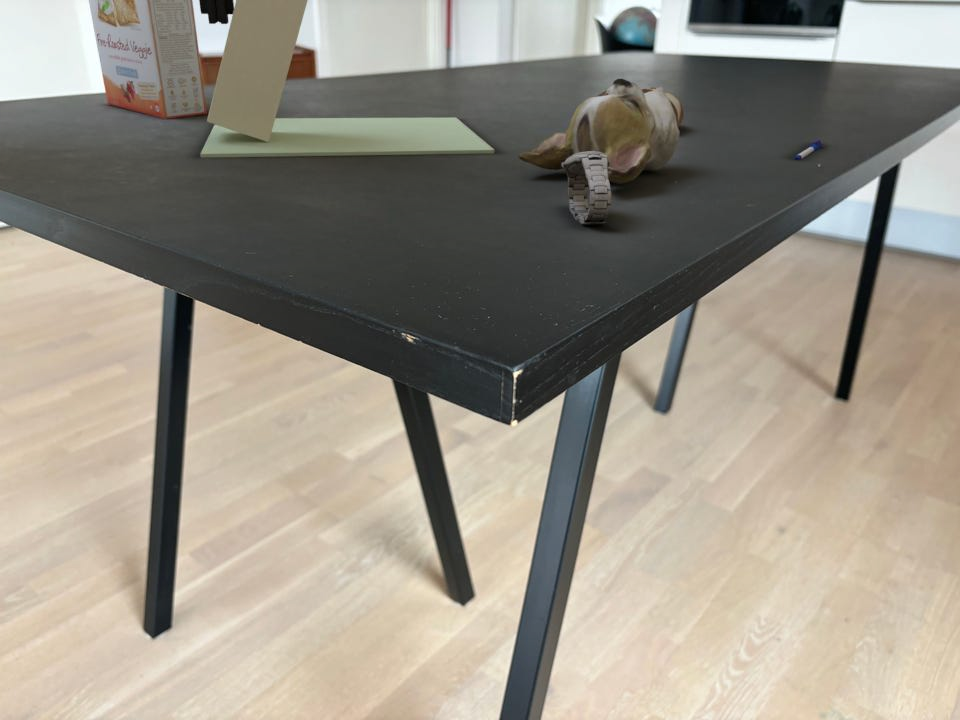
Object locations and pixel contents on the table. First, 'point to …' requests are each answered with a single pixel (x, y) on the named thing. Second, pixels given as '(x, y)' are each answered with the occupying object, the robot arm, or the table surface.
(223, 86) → the cream rectangular block
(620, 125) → the ceramic sculpture
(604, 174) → the wristwatch
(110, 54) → the cracker box
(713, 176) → the table surface
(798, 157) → the blue and white marker
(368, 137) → the mat
